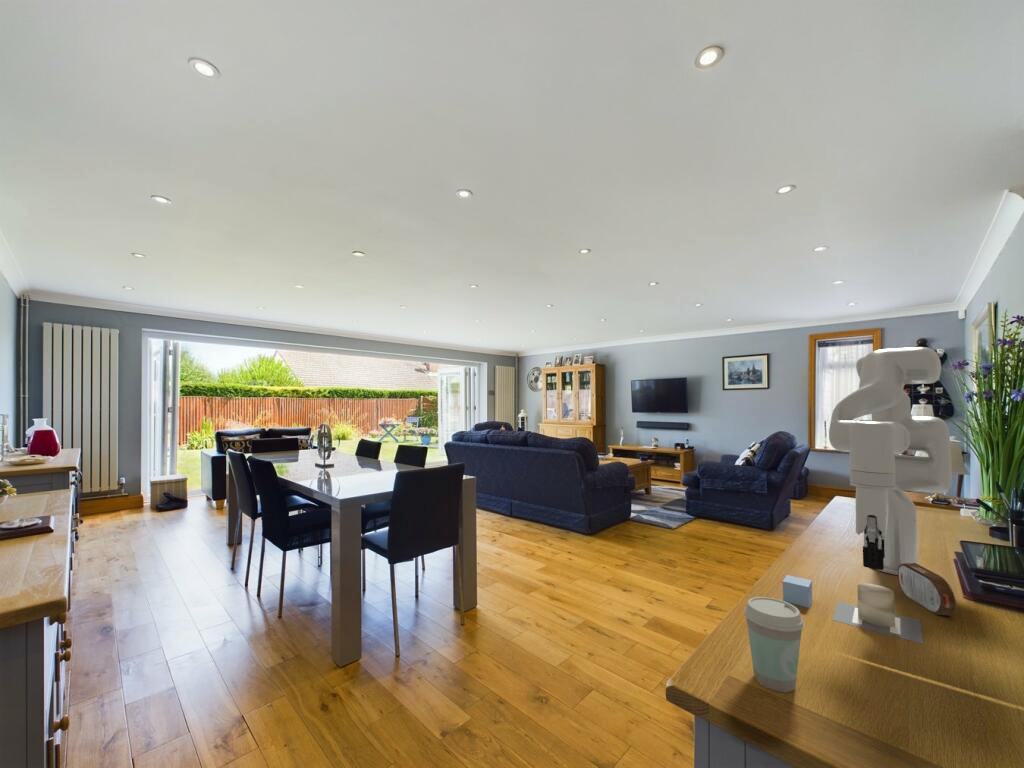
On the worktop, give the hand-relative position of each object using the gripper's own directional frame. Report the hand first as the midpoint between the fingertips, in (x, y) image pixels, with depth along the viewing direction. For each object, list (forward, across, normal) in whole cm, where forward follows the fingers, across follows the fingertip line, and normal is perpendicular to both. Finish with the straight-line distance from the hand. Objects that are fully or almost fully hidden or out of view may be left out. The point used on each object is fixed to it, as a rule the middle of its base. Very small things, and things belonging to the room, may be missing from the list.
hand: (874, 562), depth 94 cm
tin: (+12, -18, +8) cm, 23 cm away
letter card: (+12, -1, 0) cm, 13 cm away
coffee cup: (+14, +36, -12) cm, 40 cm away
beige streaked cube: (+12, -1, 0) cm, 12 cm away
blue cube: (+13, -1, -14) cm, 19 cm away
